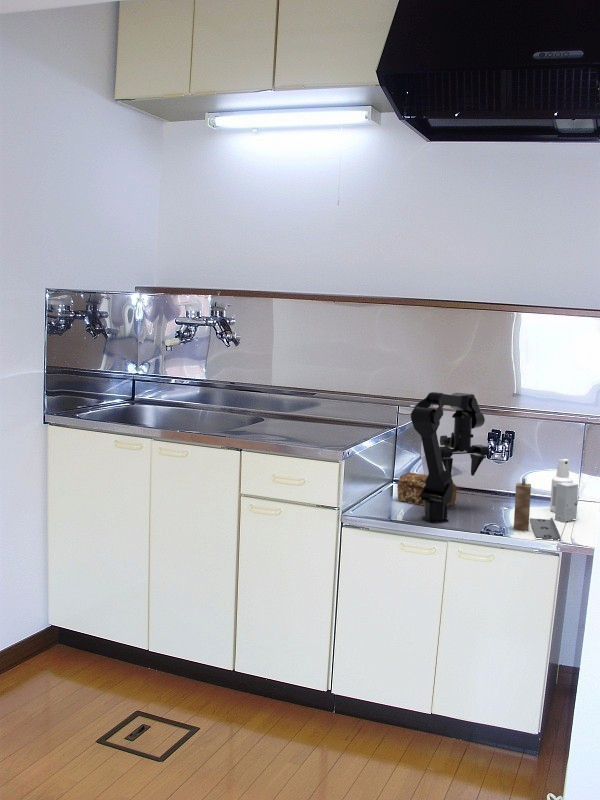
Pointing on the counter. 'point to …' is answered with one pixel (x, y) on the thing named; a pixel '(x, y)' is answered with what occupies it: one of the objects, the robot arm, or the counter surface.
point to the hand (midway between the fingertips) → (460, 476)
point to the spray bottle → (559, 480)
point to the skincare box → (566, 501)
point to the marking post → (522, 506)
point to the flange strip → (544, 529)
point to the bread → (416, 488)
